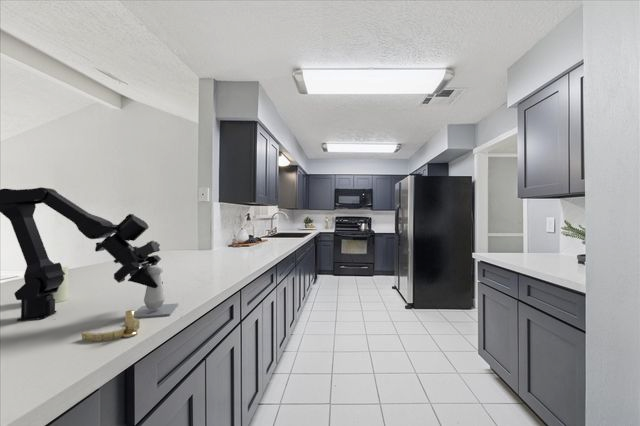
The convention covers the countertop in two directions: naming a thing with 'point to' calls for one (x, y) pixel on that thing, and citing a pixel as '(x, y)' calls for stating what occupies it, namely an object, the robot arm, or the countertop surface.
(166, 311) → the coaster
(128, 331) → the gold curved piece
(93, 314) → the countertop surface
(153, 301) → the salt shaker
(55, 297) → the can
